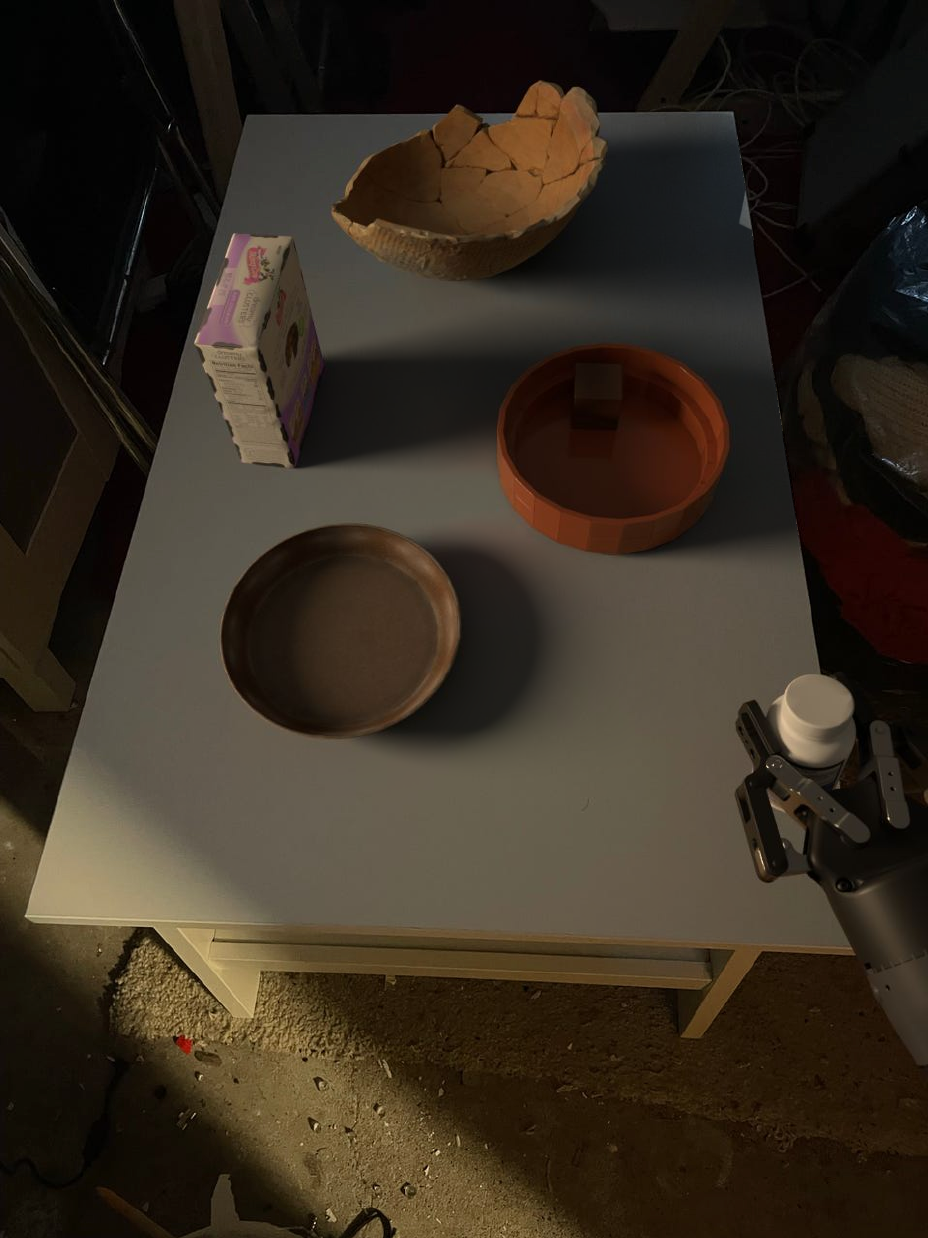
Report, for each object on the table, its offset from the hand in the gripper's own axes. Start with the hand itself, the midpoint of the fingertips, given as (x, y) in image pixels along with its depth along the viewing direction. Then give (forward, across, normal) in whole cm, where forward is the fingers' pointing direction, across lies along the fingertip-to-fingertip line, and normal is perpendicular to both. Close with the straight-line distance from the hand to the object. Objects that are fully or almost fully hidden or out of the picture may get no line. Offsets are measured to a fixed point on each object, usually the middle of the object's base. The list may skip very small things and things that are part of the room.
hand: (788, 692), depth 57 cm
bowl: (+32, -3, +17) cm, 37 cm away
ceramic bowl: (+67, 0, +17) cm, 69 cm away
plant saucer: (+22, +26, +17) cm, 38 cm away
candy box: (+49, +26, +17) cm, 58 cm away
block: (+39, -4, +16) cm, 42 cm away
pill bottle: (-4, 0, +6) cm, 8 cm away
